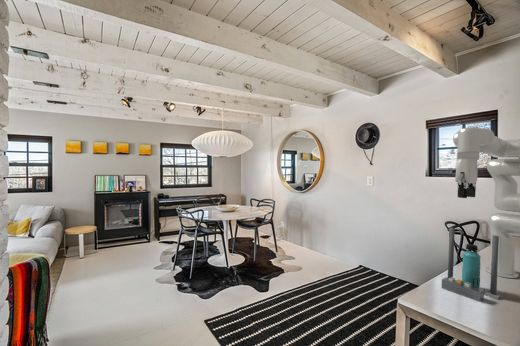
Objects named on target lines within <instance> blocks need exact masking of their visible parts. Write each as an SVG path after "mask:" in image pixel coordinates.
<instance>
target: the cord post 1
mask: <svg viewBox="0 0 520 346" xmlns="http://www.w3.org/2000/svg"><path fill="white" fill-rule="evenodd" d="M448 228H449V231H448V232H449V234H448V235H449V236H448V255H447V257H448V259H447V260H448V261H447V263H448V264H447V276H446V278H450V277H453V278H454V257H455V256H454V255H455V254H454V253H455V234H456V233H455V232H456V231H455V228H456V227H448ZM456 280H457V279H455V281H456Z"/></svg>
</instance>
